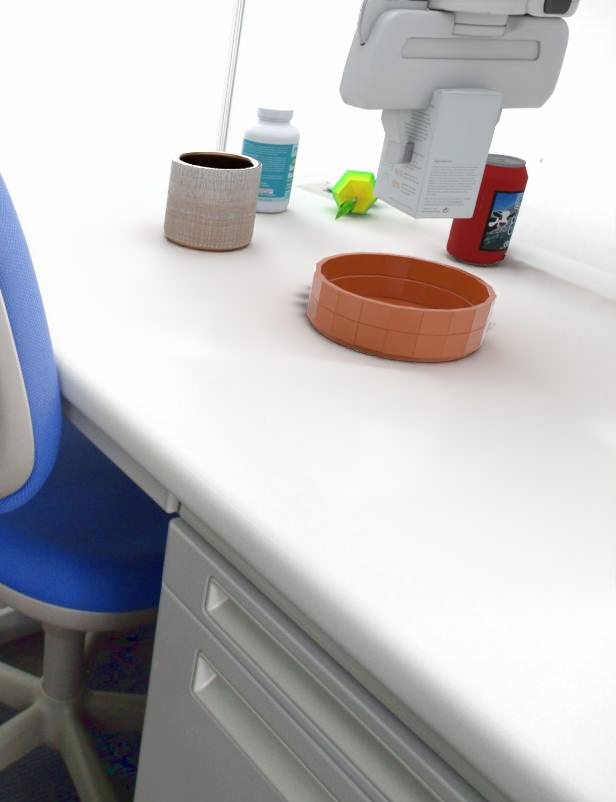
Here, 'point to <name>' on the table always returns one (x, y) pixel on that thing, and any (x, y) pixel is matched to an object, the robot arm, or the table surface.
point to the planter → (212, 200)
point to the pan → (400, 306)
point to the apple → (354, 193)
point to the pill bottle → (273, 155)
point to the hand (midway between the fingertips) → (431, 161)
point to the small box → (442, 155)
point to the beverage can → (490, 213)
